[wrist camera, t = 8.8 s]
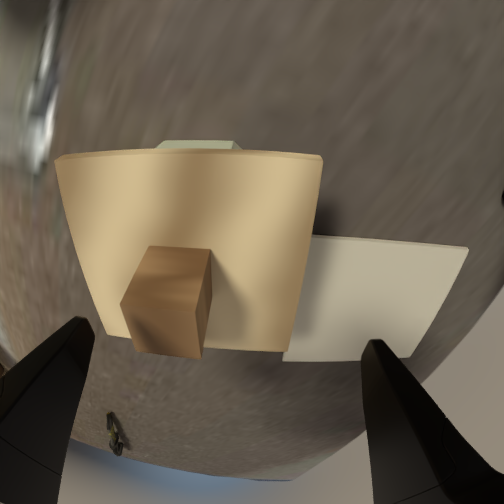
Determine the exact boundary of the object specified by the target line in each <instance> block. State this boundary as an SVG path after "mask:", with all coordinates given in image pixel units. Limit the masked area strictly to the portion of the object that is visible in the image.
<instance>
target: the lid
mask: <svg viewBox="0 0 504 504" xmlns="http://www.w3.org/2000/svg"><path fill="white" fill-rule="evenodd" d="M54 162H55V167H56V172H57V178H58V182H59V187H60V192H61V196H62V200H63V205H64V209H65V213H66V217H67V220H68V224H69V228H70V232H71V235H72V239H73V242H74V245H75V249H76V252H77V255H78V258H79V261H80V264H81V267H82V270H83V273H84V276H85V279H86V282H87V285H88V287H89V290H90V293H91V296H92V298H93V301H94V303H95V306H96V308H97V311H98V313H99V316H100V318H101V321H102V323H103V326H104V328H105V330H106V332H107V334H108V335H113V336H120V337H126V338H132V341H133V344H134V346H135V349H136V351H139V352H146V353H153V354H160V355H167V356H176V357H184V358H193V359H201V358H202V352H203V347H209V348H221V349H235V350H252V351H275V352H288V348H289V344H290V339H291V335H292V330H293V326H294V321H295V317H296V312H297V307H298V302H299V298H300V293H301V288H302V283H303V278H304V273H305V267H306V262H307V257H308V252H309V246H310V241H311V235H312V229H313V224H314V218H315V212H316V206H317V199H318V193H319V187H320V180H321V173H322V167H323V160H322V158H321V157H320V155H310V154H300V153H289V152H276V151H260V150H241V149H209V148H165V149H134V150H115V151H101V152H88V153H78V154H68V155H62V156H61V157H59V158H58V159H56V160H55V161H54Z"/></svg>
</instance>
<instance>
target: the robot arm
mask: <svg viewBox="0 0 504 504" xmlns="http://www.w3.org/2000/svg"><path fill="white" fill-rule="evenodd" d="M503 200H504V193H503ZM94 341H95V334H94V331H93V329H92V327H91V325H90V323H89V321H88V319H87V318H86V317H81V316H75V317H74V318H72V319H71V320H70V321H68V322H67V323H66V324H65V325H63V326H62V327H61V328H60V329H58V330H57V331H56V332H55V333H53V334H52V335H51V336H50V337H48V338H47V339H46V340H45V341H44V342H42V343H41V344H40V345H39V346H37V347H36V348H35V349H34V350H33V351H31V352H30V353H29V354H28V355H27V356H25V357H24V358H23V359H22V360H21V361H20V362H18V363H17V364H16V365H15V366H14V367H13V368H11V369H10V370H9V371H8V372H7V373H6V374H5V375H3V376H2V377H1V378H0V504H57V502H58V495H59V488H60V483H61V478H62V476H61V475H62V472H63V467H64V462H65V457H66V452H67V448H68V443H69V439H70V435H71V431H72V427H73V423H74V419H75V416H76V412H77V408H78V405H79V401H80V398H81V394H82V391H83V388H84V384H85V381H86V377H87V373H88V368H89V363H90V359H91V354H92V350H93V345H94ZM361 375H362V398H363V409H364V416H365V423H366V430H367V438H368V446H369V455H370V464H371V474H372V486H373V499H374V504H504V474H502V473H500V472H498V471H496V470H495V469H494V468H492V467H491V466H490V465H489V464H488V463H487V462H486V461H485V460H484V459H483V458H482V457H481V456H480V455H479V454H478V452H477V451H476V450H475V449H474V448H473V447H472V446H471V445H470V444H469V443H468V442H467V441H466V440H465V439H464V438H463V436H462V435H461V434H460V433H459V432H458V430H457V429H456V428H455V427H454V426H453V424H452V423H451V422H450V421H449V419H448V418H446V416H445V414H444V413H443V412H442V411H441V409H440V408H439V407H438V405H437V404H436V403H435V402H434V400H433V399H432V398H431V397H430V396H429V394H428V393H427V392H426V391H425V389H424V388H423V387H422V386H421V384H420V383H419V382H418V381H417V380H416V378H415V377H414V376H413V375H412V374H411V372H410V371H409V370H408V369H407V368H406V366H405V365H404V364H403V363H402V362H401V360H400V359H399V358H398V357H397V356H396V354H395V353H394V352H393V351H392V350H391V349H390V347H389V346H388V345H387V344H386V343H385V342H384V341H383V340H382V339H370V340H369V341H368V343H367V345H366V347H365V349H364V351H363V353H362V355H361Z"/></svg>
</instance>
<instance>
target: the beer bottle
mask: <svg viewBox="0 0 504 504" xmlns="http://www.w3.org/2000/svg"><path fill="white" fill-rule="evenodd" d="M3 372H4V368H3V367H2V366H1V364H0V378H1V376H2V374H3Z"/></svg>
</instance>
